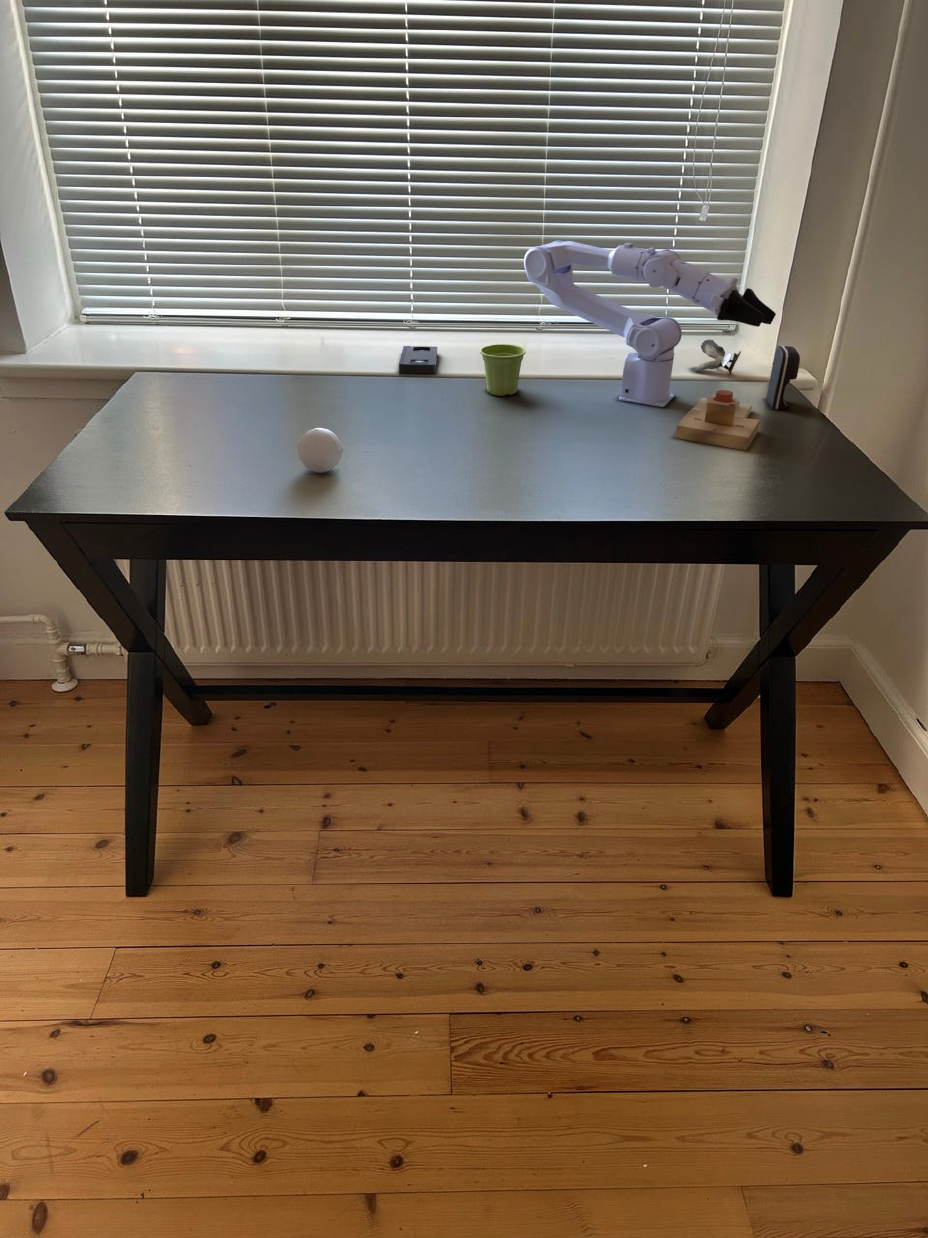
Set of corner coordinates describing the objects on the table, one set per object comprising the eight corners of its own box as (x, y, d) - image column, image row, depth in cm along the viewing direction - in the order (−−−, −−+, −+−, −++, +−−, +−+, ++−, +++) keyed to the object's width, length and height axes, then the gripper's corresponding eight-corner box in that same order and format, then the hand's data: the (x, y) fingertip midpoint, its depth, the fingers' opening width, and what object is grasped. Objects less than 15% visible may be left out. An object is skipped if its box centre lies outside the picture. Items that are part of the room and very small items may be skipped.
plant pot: (472, 395, 182) (473, 353, 177) (488, 382, 189) (489, 341, 185) (515, 401, 179) (517, 358, 174) (529, 387, 187) (532, 346, 182)
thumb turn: (704, 421, 163) (707, 400, 161) (706, 418, 164) (709, 398, 162) (731, 425, 161) (735, 405, 159) (733, 423, 162) (736, 403, 160)
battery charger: (791, 411, 175) (803, 353, 169) (771, 410, 176) (783, 352, 170) (784, 399, 181) (796, 343, 175) (765, 398, 182) (776, 342, 175)
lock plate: (674, 438, 163) (676, 424, 161) (689, 421, 170) (691, 408, 169) (746, 450, 158) (748, 436, 156) (757, 432, 165) (760, 419, 164)
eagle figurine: (738, 363, 199) (700, 350, 201) (744, 341, 192) (705, 329, 194) (725, 388, 196) (687, 375, 198) (731, 367, 190) (691, 354, 192)
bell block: (690, 416, 173) (692, 401, 171) (700, 404, 179) (703, 389, 177) (742, 424, 169) (744, 409, 167) (750, 412, 175) (753, 397, 173)
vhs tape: (434, 373, 195) (434, 364, 193) (399, 372, 195) (398, 363, 194) (437, 354, 207) (437, 346, 205) (403, 354, 207) (403, 345, 206)
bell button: (712, 402, 172) (714, 393, 171) (716, 397, 174) (718, 388, 173) (729, 404, 170) (731, 396, 169) (733, 400, 173) (734, 391, 172)
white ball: (345, 478, 146) (342, 435, 142) (300, 481, 145) (296, 438, 141) (341, 455, 155) (338, 414, 151) (298, 457, 153) (294, 417, 149)
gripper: (700, 267, 157) (767, 299, 153) (725, 267, 168) (788, 297, 164) (682, 305, 161) (747, 338, 156) (707, 302, 172) (769, 333, 168)
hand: (767, 320), depth 160 cm, fingers open, 7 cm apart
